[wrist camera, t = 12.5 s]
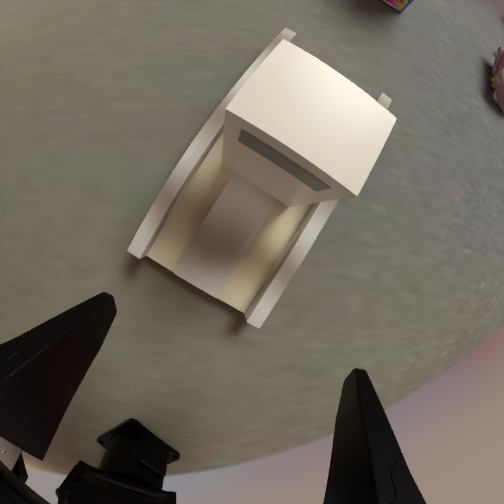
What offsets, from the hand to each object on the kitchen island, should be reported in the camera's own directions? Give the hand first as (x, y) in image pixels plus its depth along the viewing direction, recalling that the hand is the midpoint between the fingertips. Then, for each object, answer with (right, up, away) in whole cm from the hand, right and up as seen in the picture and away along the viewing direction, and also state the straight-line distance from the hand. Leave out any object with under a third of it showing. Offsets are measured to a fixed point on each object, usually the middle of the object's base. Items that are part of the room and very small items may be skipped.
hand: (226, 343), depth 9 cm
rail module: (+2, +9, +10) cm, 14 cm away
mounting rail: (+2, +9, +11) cm, 14 cm away
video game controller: (+36, +27, +13) cm, 47 cm away
